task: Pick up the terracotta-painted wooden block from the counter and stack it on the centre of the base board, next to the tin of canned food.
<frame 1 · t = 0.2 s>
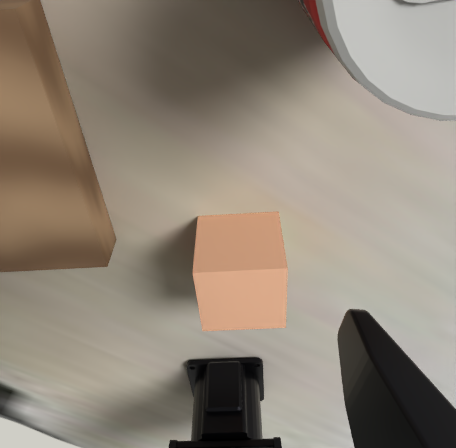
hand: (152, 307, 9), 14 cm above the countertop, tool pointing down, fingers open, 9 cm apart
block: (240, 243, 27), on the countertop
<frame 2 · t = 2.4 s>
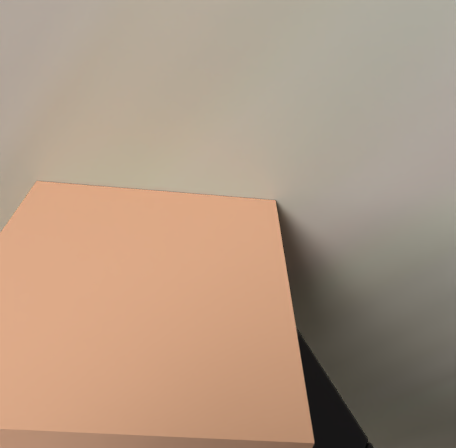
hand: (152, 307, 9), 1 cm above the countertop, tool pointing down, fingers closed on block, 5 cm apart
block: (159, 274, 10), on the countertop, touching gripper
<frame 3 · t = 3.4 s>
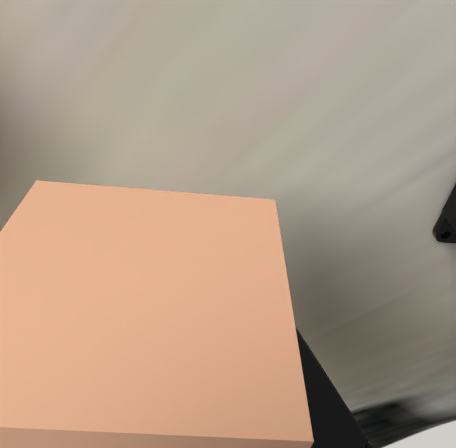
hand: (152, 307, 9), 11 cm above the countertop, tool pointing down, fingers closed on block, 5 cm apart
block: (158, 274, 10), point 10 cm above the countertop, touching gripper
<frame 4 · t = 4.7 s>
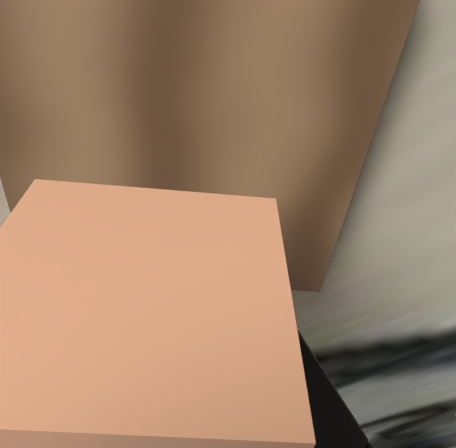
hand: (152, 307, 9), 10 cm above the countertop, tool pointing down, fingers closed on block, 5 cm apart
base board: (185, 124, 17), on the countertop
block: (158, 273, 10), point 9 cm above the countertop, touching gripper
when the fingers open (4 cm above the countertop, at t = 6.0 s): block stays where it is, resting on base board.
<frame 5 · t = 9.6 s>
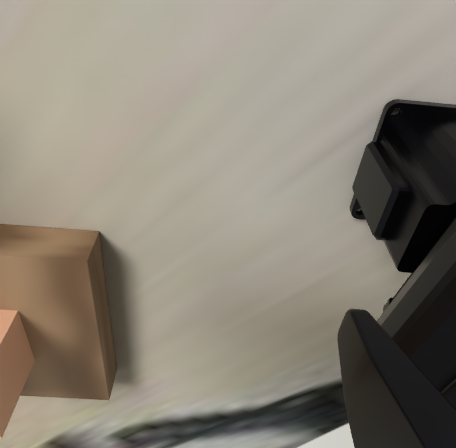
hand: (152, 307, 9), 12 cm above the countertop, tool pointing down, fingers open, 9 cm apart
base board: (3, 304, 27), on the countertop
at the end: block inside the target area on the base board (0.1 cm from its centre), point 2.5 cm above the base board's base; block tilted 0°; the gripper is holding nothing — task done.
